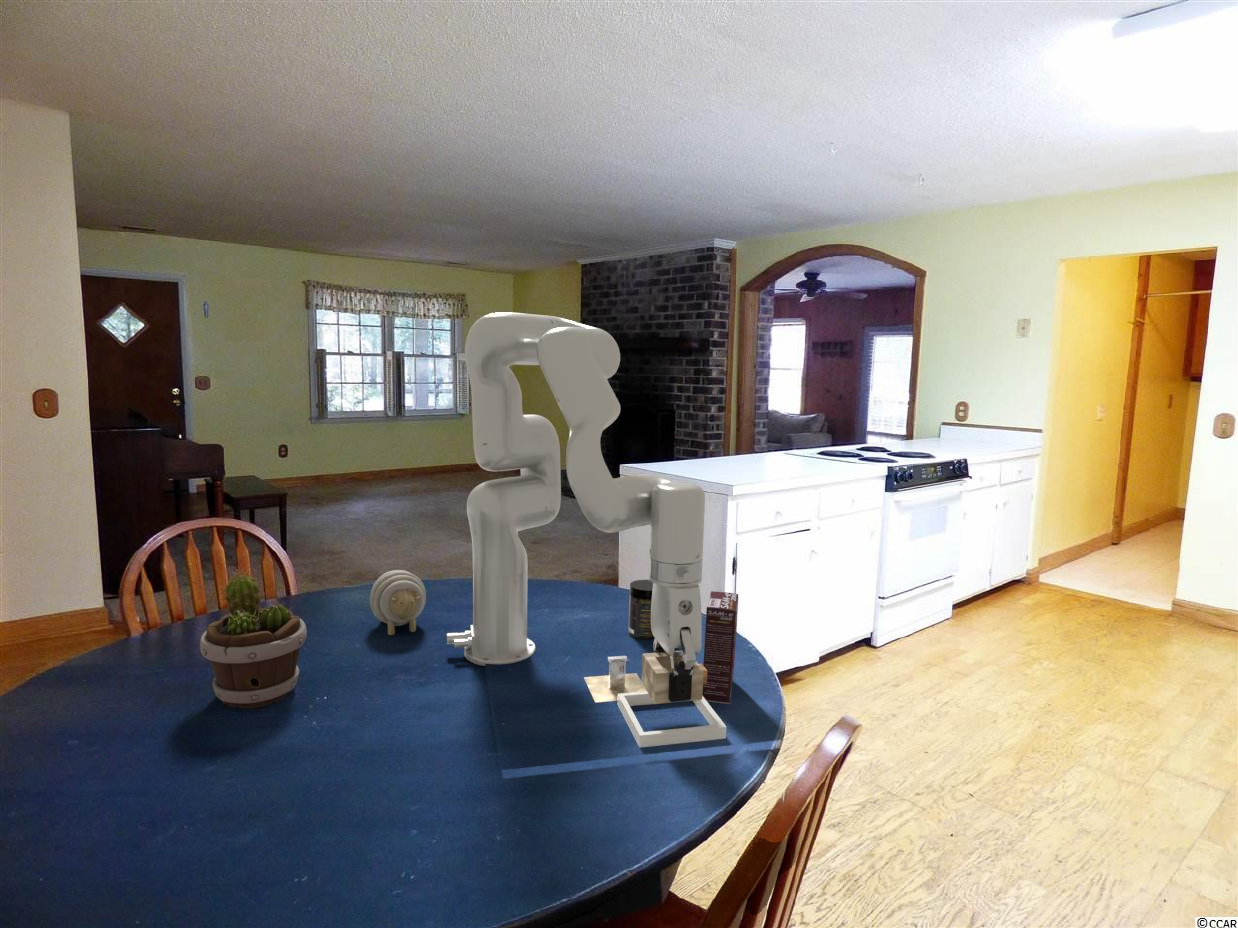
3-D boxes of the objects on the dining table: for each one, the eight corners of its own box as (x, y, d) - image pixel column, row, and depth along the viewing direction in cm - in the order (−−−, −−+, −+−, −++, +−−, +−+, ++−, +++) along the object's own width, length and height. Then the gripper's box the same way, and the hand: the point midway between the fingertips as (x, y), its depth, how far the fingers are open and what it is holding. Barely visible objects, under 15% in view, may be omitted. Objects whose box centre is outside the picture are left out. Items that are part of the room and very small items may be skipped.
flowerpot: (327, 694, 115) (323, 570, 112) (221, 728, 103) (214, 591, 100) (287, 665, 124) (283, 550, 121) (187, 694, 113) (179, 568, 110)
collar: (712, 698, 105) (713, 668, 104) (655, 703, 103) (656, 673, 102) (695, 677, 112) (696, 649, 111) (641, 682, 109) (642, 653, 109)
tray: (639, 752, 100) (639, 735, 100) (617, 709, 112) (617, 693, 112) (725, 743, 103) (726, 726, 103) (695, 701, 115) (695, 686, 115)
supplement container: (670, 640, 140) (672, 587, 139) (639, 646, 137) (641, 592, 135) (651, 628, 146) (652, 577, 144) (621, 634, 143) (623, 582, 141)
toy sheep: (382, 645, 134) (380, 586, 132) (359, 616, 148) (358, 563, 146) (438, 635, 139) (438, 578, 138) (412, 608, 154) (411, 556, 152)
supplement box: (731, 708, 114) (736, 610, 111) (700, 705, 114) (704, 607, 112) (734, 684, 122) (739, 592, 120) (704, 681, 123) (709, 590, 120)
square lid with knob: (595, 707, 113) (596, 671, 112) (583, 681, 121) (584, 648, 120) (651, 702, 115) (652, 667, 114) (636, 677, 124) (637, 644, 123)
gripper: (723, 587, 97) (717, 713, 99) (680, 552, 114) (676, 661, 116) (669, 590, 95) (664, 719, 98) (634, 554, 112) (630, 665, 114)
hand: (671, 687), depth 107 cm, fingers closed on collar, 7 cm apart
